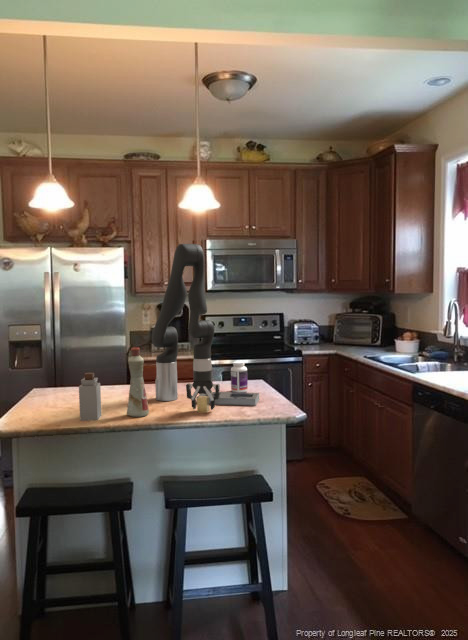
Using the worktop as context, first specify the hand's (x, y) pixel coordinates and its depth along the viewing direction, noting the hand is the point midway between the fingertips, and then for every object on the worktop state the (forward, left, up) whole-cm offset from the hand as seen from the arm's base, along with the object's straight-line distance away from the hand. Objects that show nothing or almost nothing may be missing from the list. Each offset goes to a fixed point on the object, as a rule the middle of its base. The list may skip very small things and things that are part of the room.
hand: (203, 408), depth 211 cm
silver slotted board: (+7, +18, -1) cm, 19 cm away
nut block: (0, 0, -1) cm, 1 cm away
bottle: (-25, -9, -1) cm, 27 cm away
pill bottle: (+8, +40, -1) cm, 41 cm away
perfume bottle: (-42, -16, -1) cm, 45 cm away
